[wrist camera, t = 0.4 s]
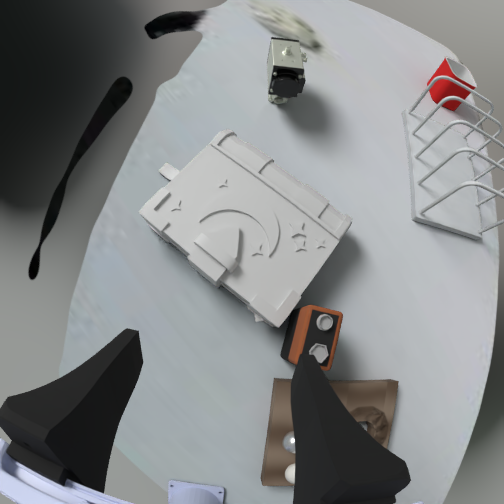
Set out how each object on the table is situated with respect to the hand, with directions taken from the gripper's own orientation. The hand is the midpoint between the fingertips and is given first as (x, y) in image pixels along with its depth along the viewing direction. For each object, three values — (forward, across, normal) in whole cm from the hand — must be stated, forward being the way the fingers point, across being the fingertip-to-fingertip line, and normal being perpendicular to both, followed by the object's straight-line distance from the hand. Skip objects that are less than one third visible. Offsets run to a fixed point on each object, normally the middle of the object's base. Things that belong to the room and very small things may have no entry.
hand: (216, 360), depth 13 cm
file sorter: (+44, -37, -7) cm, 58 cm away
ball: (+7, -11, +28) cm, 31 cm away
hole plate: (+13, -15, +27) cm, 34 cm away
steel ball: (+10, -10, +25) cm, 28 cm away
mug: (+62, -43, -28) cm, 80 cm away
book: (+32, +2, +5) cm, 33 cm away
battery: (+22, -9, +17) cm, 29 cm away
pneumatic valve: (+48, -3, -15) cm, 51 cm away
